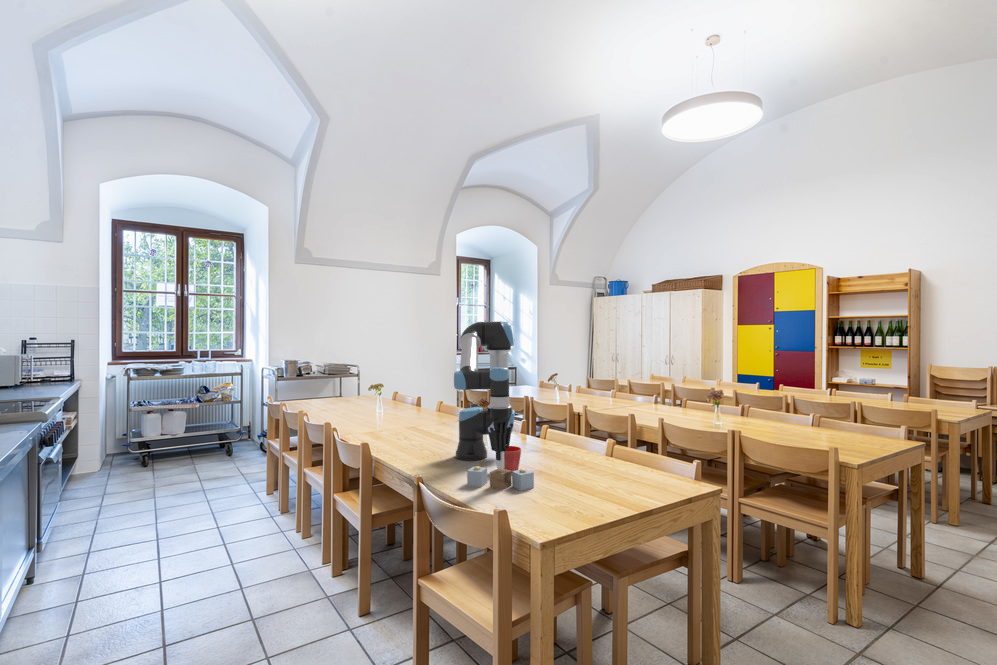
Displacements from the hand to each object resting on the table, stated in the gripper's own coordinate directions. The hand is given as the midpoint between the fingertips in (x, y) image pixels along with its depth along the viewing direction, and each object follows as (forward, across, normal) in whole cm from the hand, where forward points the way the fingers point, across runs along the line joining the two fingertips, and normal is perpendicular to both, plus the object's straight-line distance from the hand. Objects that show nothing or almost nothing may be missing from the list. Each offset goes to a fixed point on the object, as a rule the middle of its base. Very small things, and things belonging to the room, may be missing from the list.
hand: (500, 468), depth 194 cm
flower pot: (+7, -18, -12) cm, 23 cm away
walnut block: (+7, 0, 0) cm, 7 cm away
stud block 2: (+7, -5, +7) cm, 11 cm away
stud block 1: (+7, +4, -9) cm, 12 cm away
